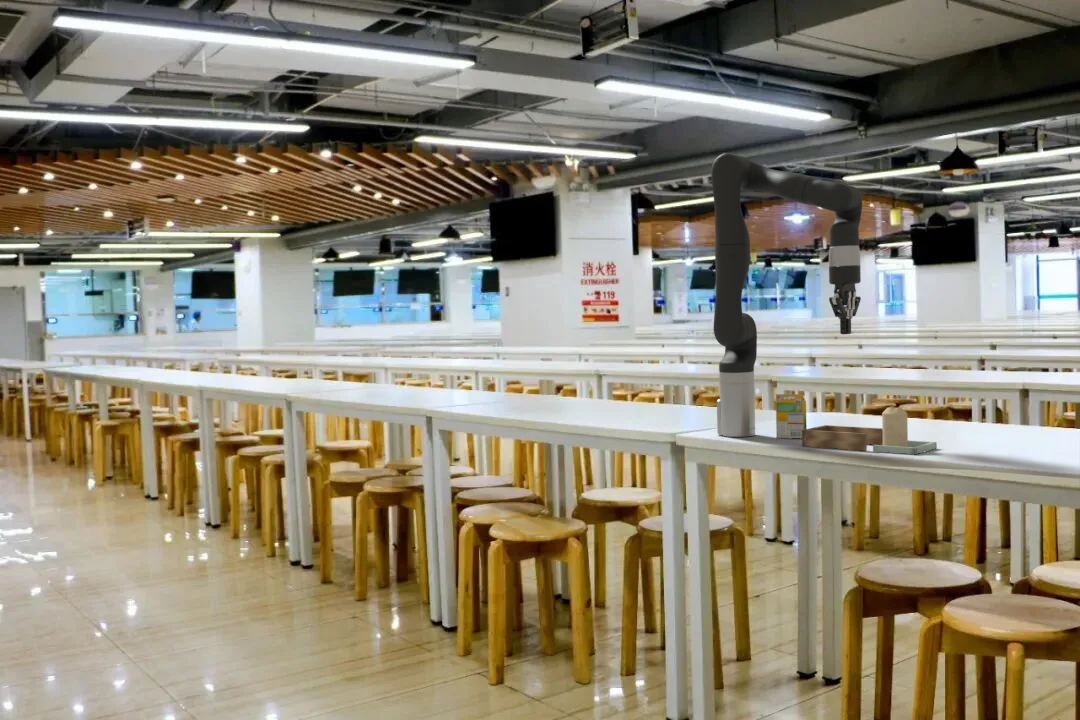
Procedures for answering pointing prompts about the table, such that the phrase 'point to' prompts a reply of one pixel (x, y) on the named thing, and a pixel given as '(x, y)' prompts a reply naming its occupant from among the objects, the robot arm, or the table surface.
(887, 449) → the mint green u-bracket
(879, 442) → the cubby
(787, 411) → the crayon box
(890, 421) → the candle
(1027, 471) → the table surface
